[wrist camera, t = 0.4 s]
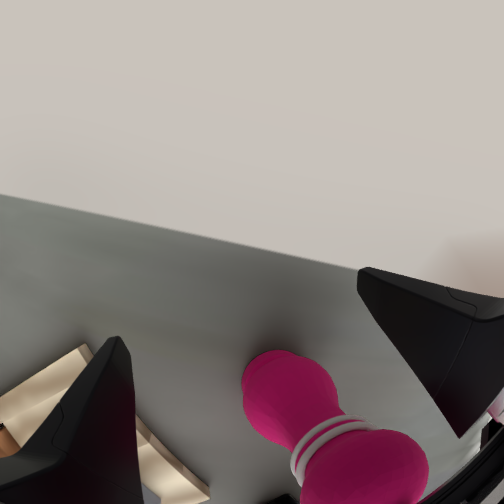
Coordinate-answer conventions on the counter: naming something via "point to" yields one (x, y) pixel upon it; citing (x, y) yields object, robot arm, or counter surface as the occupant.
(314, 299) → the counter surface
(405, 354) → the robot arm
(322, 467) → the pepper mill
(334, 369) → the counter surface
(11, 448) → the pin
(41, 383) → the pin board
